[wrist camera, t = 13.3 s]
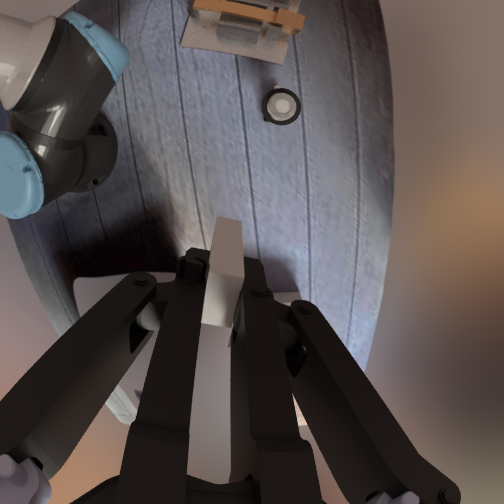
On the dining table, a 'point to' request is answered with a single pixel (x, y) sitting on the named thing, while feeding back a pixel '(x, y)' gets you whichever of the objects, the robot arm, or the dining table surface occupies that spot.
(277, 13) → the strap
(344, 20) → the dining table surface
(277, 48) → the heatsink base
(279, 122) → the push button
